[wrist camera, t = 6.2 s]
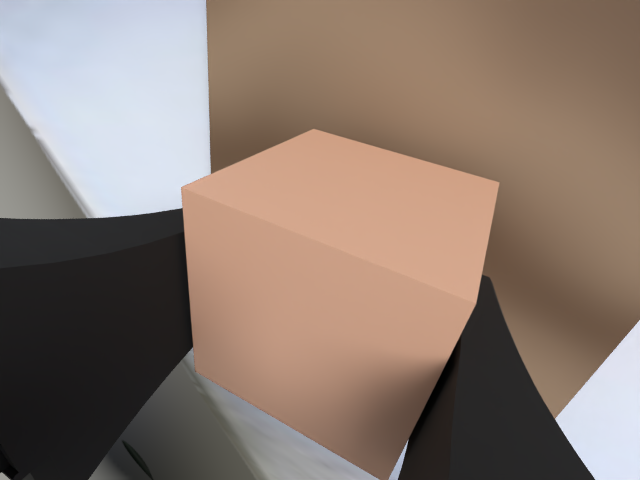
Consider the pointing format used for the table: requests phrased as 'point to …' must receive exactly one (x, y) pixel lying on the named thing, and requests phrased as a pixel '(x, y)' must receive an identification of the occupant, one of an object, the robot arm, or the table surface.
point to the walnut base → (471, 136)
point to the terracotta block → (334, 286)
